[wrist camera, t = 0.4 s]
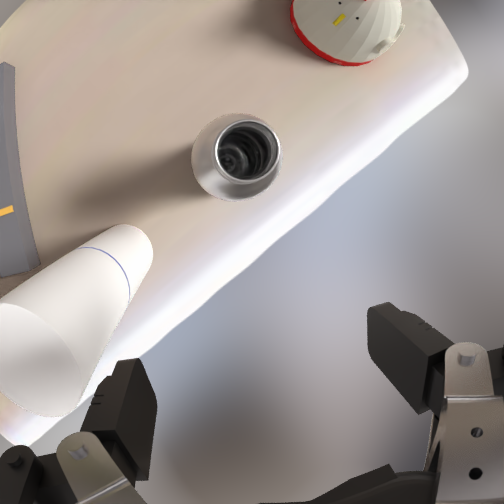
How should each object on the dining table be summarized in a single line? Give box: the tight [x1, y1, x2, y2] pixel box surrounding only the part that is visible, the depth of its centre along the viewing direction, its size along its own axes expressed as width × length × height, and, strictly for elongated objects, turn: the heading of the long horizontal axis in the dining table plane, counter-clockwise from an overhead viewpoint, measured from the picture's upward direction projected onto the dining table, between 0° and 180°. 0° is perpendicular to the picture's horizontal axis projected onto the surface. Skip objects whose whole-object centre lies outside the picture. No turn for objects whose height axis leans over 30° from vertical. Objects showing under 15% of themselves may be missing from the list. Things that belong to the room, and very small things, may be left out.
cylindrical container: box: [0, 224, 153, 417], centre depth 25 cm, size 7×7×25 cm
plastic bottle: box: [191, 113, 283, 202], centre depth 26 cm, size 6×7×20 cm
